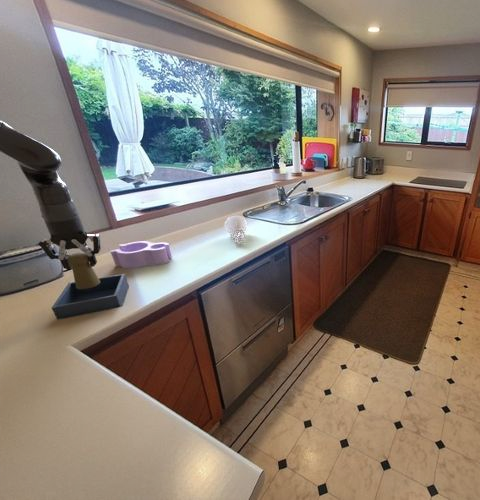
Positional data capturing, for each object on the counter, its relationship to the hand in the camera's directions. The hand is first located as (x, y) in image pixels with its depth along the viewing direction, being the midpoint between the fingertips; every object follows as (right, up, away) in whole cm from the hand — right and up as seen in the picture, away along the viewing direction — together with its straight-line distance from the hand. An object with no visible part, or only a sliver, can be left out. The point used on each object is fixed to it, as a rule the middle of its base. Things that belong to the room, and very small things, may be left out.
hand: (81, 267), depth 89 cm
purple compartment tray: (-4, 0, +34) cm, 34 cm away
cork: (0, -6, +3) cm, 7 cm away
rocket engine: (+26, +11, +59) cm, 65 cm away
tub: (0, -13, +6) cm, 14 cm away
